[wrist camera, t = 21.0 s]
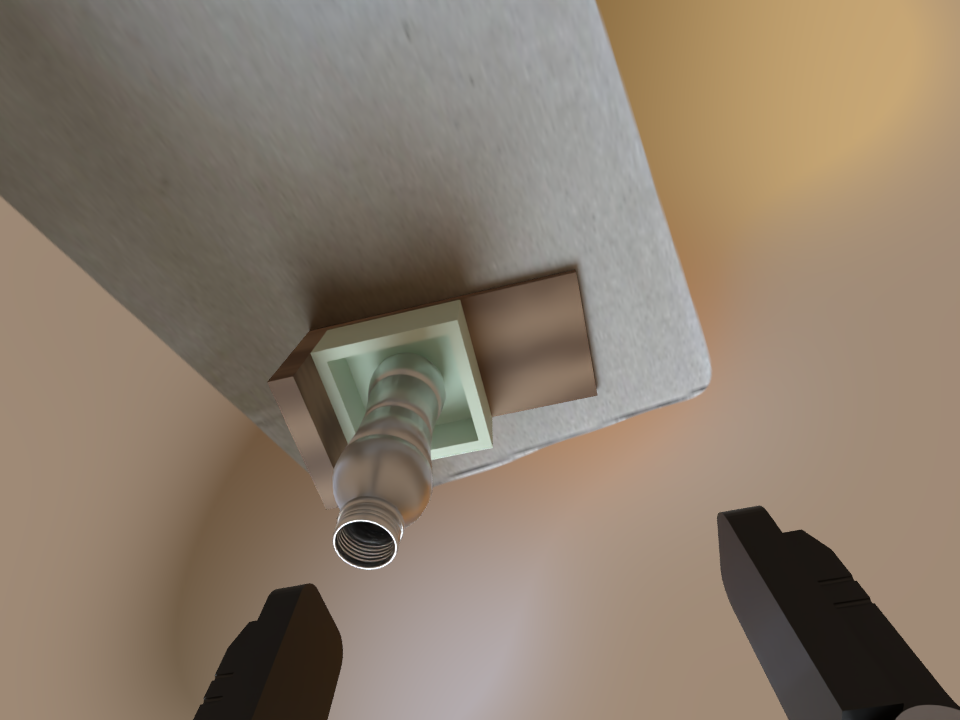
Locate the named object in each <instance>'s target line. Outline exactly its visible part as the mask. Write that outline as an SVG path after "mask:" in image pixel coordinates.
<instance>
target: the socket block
mask: <svg viewBox="0 0 960 720" xmlns="http://www.w3.org/2000/svg"><path fill="white" fill-rule="evenodd" d="M399 353H414V354H417V355H420V356H423V357H425V358H427V359H428V360H429V361H431V362H432V363H433V364H434V365H435V366H436V367H437V368H438V370H439V371H440V373H441V375H442V378H443V381H444V386H445V392H446V398H445V403H444V407H443V409H442V412H441V414H440V416H439V418H438V420H437V421H436V424H435V427H434V430H433V434H432V442H431V460H433V459H439V458H444V457H449V456H454V455H459V454H464V453H469V452H474V451H479V450H484V449H489V448H493V435H492V415H491V412H490V408H489V404H488V401H487V397H486V393H485V389H484V386H483V382H482V378H481V375H480V371H479V367H478V364H477V360H476V356H475V353H474V349H473V345H472V341H471V338H470V334H469V330H468V327H467V323H466V319H465V316H464V312H463V308H462V305H461V301H460V300H455V301H451V302H447V303H442V304H438V305H434V306H429V307H425V308H421V309H416V310H412V311H408V312H403V313H399V314H395V315H390V316H386V317H382V318H377V319H373V320H369V321H364V322H360V323H356V324H351V325H347V326H343V327H338V328H334V329H330V330H327V331H326V333H325V334H324V336H323V337H322V338H321V340H320V341H319V342H318V344H317V345H316V346H315V348H314V349H313V350H312V352H311V353H310V354H311V356H312V358H313V361H314V363H315V366H316V368H317V370H318V373H319V375H320V378H321V380H322V383H323V385H324V387H325V390H326V392H327V395H328V397H329V399H330V402H331V404H332V407H333V409H334V412H335V414H336V416H337V419H338V421H339V424H340V426H341V429H342V431H343V433H344V436H345V438H346V441H347V443H348V444H349V442H350V441H351V439H352V438H353V436H354V435H355V434H356V432H357V430H358V428H359V426H360V424H361V422H362V420H363V418H364V416H365V412H366V408H367V403H368V389H369V383H370V379H371V377H372V374H373V373H374V371H375V370H376V369H377V367H378V366H379V365H380V364H381V363H382V362H383V361H384V360H385V359H387V358H388V357H390V356H392V355H395V354H399Z"/></svg>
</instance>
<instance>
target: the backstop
mask: <svg viewBox="0 0 960 720" xmlns="http://www.w3.org/2000/svg"><path fill="white" fill-rule="evenodd" d="M455 300H460V301H461V305H462V308H463V312H464V316H465V319H466V323H467V327H468V330H469V334H470V338H471V341H472V345H473V349H474V353H475V356H476V360H477V364H478V367H479V371H480V375H481V378H482V382H483V386H484V389H485V393H486V397H487V401H488V404H489V408H490V412H491V415H492V417H494V416H499V415H504V414H509V413H514V412H519V411H524V410H529V409H533V408H538V407H543V406H548V405H553V404H558V403H563V402H568V401H573V400H577V399H582V398H587V397H592V396H597V391H596V385H595V379H594V373H593V367H592V361H591V356H590V350H589V344H588V338H587V332H586V326H585V320H584V315H583V309H582V303H581V297H580V291H579V285H578V279H577V274H576V271H575V270H571V271H567V272H563V273H558V274H554V275H550V276H545V277H541V278H537V279H532V280H528V281H524V282H519V283H515V284H511V285H506V286H502V287H498V288H493V289H489V290H485V291H480V292H476V293H472V294H468V295H463V296H459V297H455V298H450V299H446V300H442V301H437V302H433V303H429V304H424V305H420V306H416V307H411V308H407V309H403V310H398V311H394V312H390V313H385V314H381V315H377V316H373V317H368V318H364V319H360V320H355V321H351V322H347V323H342V324H338V325H334V326H329V327H325V328H321V329H316V330H312V331H309V332H308V333H307V335H306V336H305V337H304V338H303V339H302V341H301V342H300V343H299V344H298V346H297V347H296V348H295V349H294V350H293V352H292V353H291V354H290V355H289V356H288V358H287V359H286V360H285V361H284V363H283V364H282V365H281V366H280V367H279V369H278V370H277V371H276V372H275V373H274V375H273V376H272V377H271V378H270V380H269V381H268V382H267V383H268V385H269V387H270V389H271V391H272V393H273V396H274V398H275V400H276V402H277V404H278V406H279V409H280V411H281V413H282V415H283V417H284V419H285V422H286V424H287V426H288V428H289V430H290V432H291V435H292V437H293V439H294V441H295V443H296V445H297V447H298V450H299V452H300V454H301V456H302V458H303V460H304V463H305V465H306V467H307V469H308V471H309V473H310V476H311V478H312V480H313V482H314V484H315V486H316V488H317V491H318V493H319V495H320V497H321V499H322V501H323V504H324V506H325V508H326V509H331V508H337V507H338V505H337V503H336V500H335V497H334V494H333V471H334V467H335V465H336V463H337V461H338V459H339V457H340V455H341V453H342V452H343V451H344V449H345V448H346V446H347V445H348V443H347V441H346V438H345V436H344V433H343V431H342V429H341V426H340V424H339V421H338V419H337V416H336V414H335V412H334V409H333V407H332V404H331V402H330V399H329V397H328V395H327V392H326V390H325V387H324V385H323V383H322V380H321V378H320V375H319V373H318V370H317V368H316V366H315V363H314V361H313V358H312V356H311V354H310V353H311V352H312V350H313V349H314V348H315V346H316V345H317V344H318V342H319V341H320V340H321V338H322V337H323V336H324V334H325V333H326V331H327V330H330V329H334V328H338V327H343V326H347V325H351V324H356V323H360V322H364V321H369V320H373V319H377V318H382V317H386V316H390V315H395V314H399V313H403V312H408V311H412V310H416V309H421V308H425V307H429V306H434V305H438V304H442V303H447V302H451V301H455Z"/></svg>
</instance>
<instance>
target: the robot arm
mask: <svg viewBox="0 0 960 720" xmlns="http://www.w3.org/2000/svg"><path fill="white" fill-rule="evenodd" d="M717 524H718V538H719V552H720V566H721V575H722V580H723V584H724V587H725V591H726V593H727V596H728V599H729V601H730V604H731V606H732V608H733V610H734V612H735V614H736V616H737V618H738V620H739V622H740V623H741V626H742V628H743V630H744V632H745V634H746V636H747V638H748V640H749V642H750V644H751V646H752V648H753V650H754V652H755V654H756V656H757V658H758V660H759V661H760V664H761V666H762V668H763V669H764V672H765V674H766V676H767V678H768V679H769V682H770V684H771V686H772V687H773V689H774V691H775V693H776V695H777V697H778V699H779V701H780V703H781V705H782V707H783V709H784V711H785V713H786V715H787V717H788V719H789V720H960V707H959V706H958V705H957V704H956V703H955V702H954V701H953V700H952V699H951V698H950V697H949V695H948V694H947V693H946V692H945V691H944V689H943V688H942V687H941V686H940V685H939V683H938V682H937V681H936V680H935V678H934V677H933V676H932V674H931V673H930V672H929V671H928V669H927V668H926V667H925V666H924V664H923V663H922V662H921V661H920V659H919V658H918V657H917V656H916V655H915V653H914V652H913V651H912V650H911V649H910V647H909V646H908V645H907V643H906V642H905V641H904V640H903V638H902V637H901V636H900V635H899V633H898V632H897V631H896V630H895V628H894V627H893V626H892V625H891V623H890V622H889V621H888V620H887V618H886V617H885V616H884V615H883V614H882V612H881V611H880V610H879V608H878V607H877V606H876V605H875V604H873V603H872V602H871V600H870V597H869V596H868V595H867V593H866V592H865V591H864V590H863V588H862V587H861V586H860V585H859V583H858V582H857V581H854V579H853V577H852V575H851V573H850V572H849V571H848V570H847V569H846V567H845V566H844V565H843V563H842V562H841V561H840V560H839V558H838V557H837V556H836V555H835V553H834V552H833V551H832V550H831V549H830V548H828V547H827V546H825V545H824V544H822V543H821V542H819V541H818V540H816V539H815V538H814V537H812V536H810V535H809V534H808V533H806V532H805V531H803V530H797V531H790V532H785V533H782V532H781V530H780V529H779V527H778V526H777V525H776V523H775V522H774V520H773V519H772V518H771V516H770V515H769V513H768V512H767V511H766V510H765V509H764V508H763V507H762V506H755V507H749V508H743V509H737V510H731V511H726V512H720V513H718V516H717ZM342 658H343V646H342V639H341V635H340V633H339V630H338V628H337V626H336V624H335V622H334V620H333V618H332V616H331V615H330V613H329V611H328V609H327V607H326V605H325V603H324V601H323V599H322V597H321V595H320V593H319V591H318V589H317V588H316V587H315V585H313V584H304V585H298V586H293V587H287V588H281V589H276V590H274V591H272V592H271V594H270V595H269V596H268V598H267V601H266V603H265V605H264V607H263V609H262V612H261V614H260V616H259V618H258V620H257V621H252V622H249V623H248V624H247V625H246V627H245V628H244V629H243V630H242V632H241V633H240V634H239V635H238V637H237V638H236V639H235V640H234V641H233V642H232V644H231V645H230V646H229V647H228V649H227V651H226V653H225V655H224V657H223V659H222V662H221V664H220V666H219V668H218V670H217V672H216V674H215V680H214V681H212V682H211V684H210V686H209V688H208V690H207V692H206V694H205V696H204V703H203V704H202V705H200V707H199V709H198V711H197V713H196V715H195V717H194V719H193V720H327V719H328V716H329V712H330V707H331V704H332V700H333V697H334V692H335V689H336V685H337V681H338V677H339V674H340V670H341V665H342Z"/></svg>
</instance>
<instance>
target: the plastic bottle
mask: <svg viewBox="0 0 960 720" xmlns="http://www.w3.org/2000/svg"><path fill="white" fill-rule="evenodd" d="M445 398H446V392H445V386H444V381H443V378H442V375H441V373H440V371H439V370H438V368H437V367H436V366H435V365H434V364H433V363H432V362H431V361H429V360H428V359H427V358H425V357H423V356H420V355H417V354H414V353H399V354H395V355H392V356H390V357H388V358H387V359H385V360H384V361H383V362H382V363H381V364H380V365H379V366H378V367H377V369H376V370H375V371H374V373H373V374H372V377H371V379H370V383H369V389H368V403H367V408H366V412H365V416H364V418H363V420H362V422H361V424H360V426H359V428H358V430H357V432H356V434H355V435H354V436H353V438H352V439H351V441H350V442H349V444H348V445H347V446H346V448H345V449H344V451H343V452H342V453H341V455H340V457H339V459H338V461H337V463H336V465H335V467H334V471H333V494H334V497H335V500H336V503H337V505H338V507H339V509H340V513H339V515H338V518H337V525H336V528H335V531H334V534H333V547H334V550H335V552H336V553H337V555H338V556H339V557H340V558H341V559H342V560H343V561H344V562H346V563H347V564H349V565H351V566H353V567H356V568H360V569H367V570H370V569H378V568H382V567H384V566H386V565H387V564H389V563H390V562H391V561H392V560H393V559H394V558H395V556H396V554H397V551H398V547H399V542H400V541H401V539H402V536H403V532H404V528H406V527H408V526H409V525H411V524H412V523H414V522H415V521H416V520H417V519H418V518H419V517H420V516H421V515H422V513H423V512H424V510H425V508H426V507H427V505H428V503H429V501H430V498H431V495H432V485H433V475H432V462H431V442H432V434H433V430H434V427H435V424H436V421H437V420H438V418H439V416H440V414H441V412H442V409H443V407H444V403H445Z"/></svg>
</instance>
